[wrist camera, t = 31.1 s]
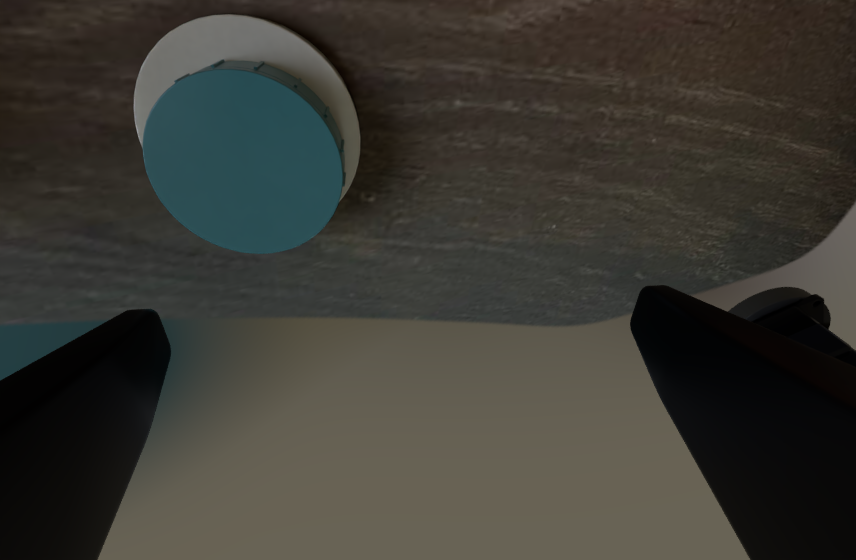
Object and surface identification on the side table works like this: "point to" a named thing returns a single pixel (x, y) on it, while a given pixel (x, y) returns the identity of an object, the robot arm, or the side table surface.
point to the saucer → (247, 42)
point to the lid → (245, 156)
